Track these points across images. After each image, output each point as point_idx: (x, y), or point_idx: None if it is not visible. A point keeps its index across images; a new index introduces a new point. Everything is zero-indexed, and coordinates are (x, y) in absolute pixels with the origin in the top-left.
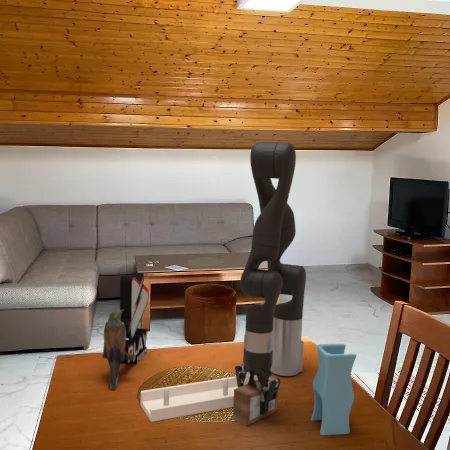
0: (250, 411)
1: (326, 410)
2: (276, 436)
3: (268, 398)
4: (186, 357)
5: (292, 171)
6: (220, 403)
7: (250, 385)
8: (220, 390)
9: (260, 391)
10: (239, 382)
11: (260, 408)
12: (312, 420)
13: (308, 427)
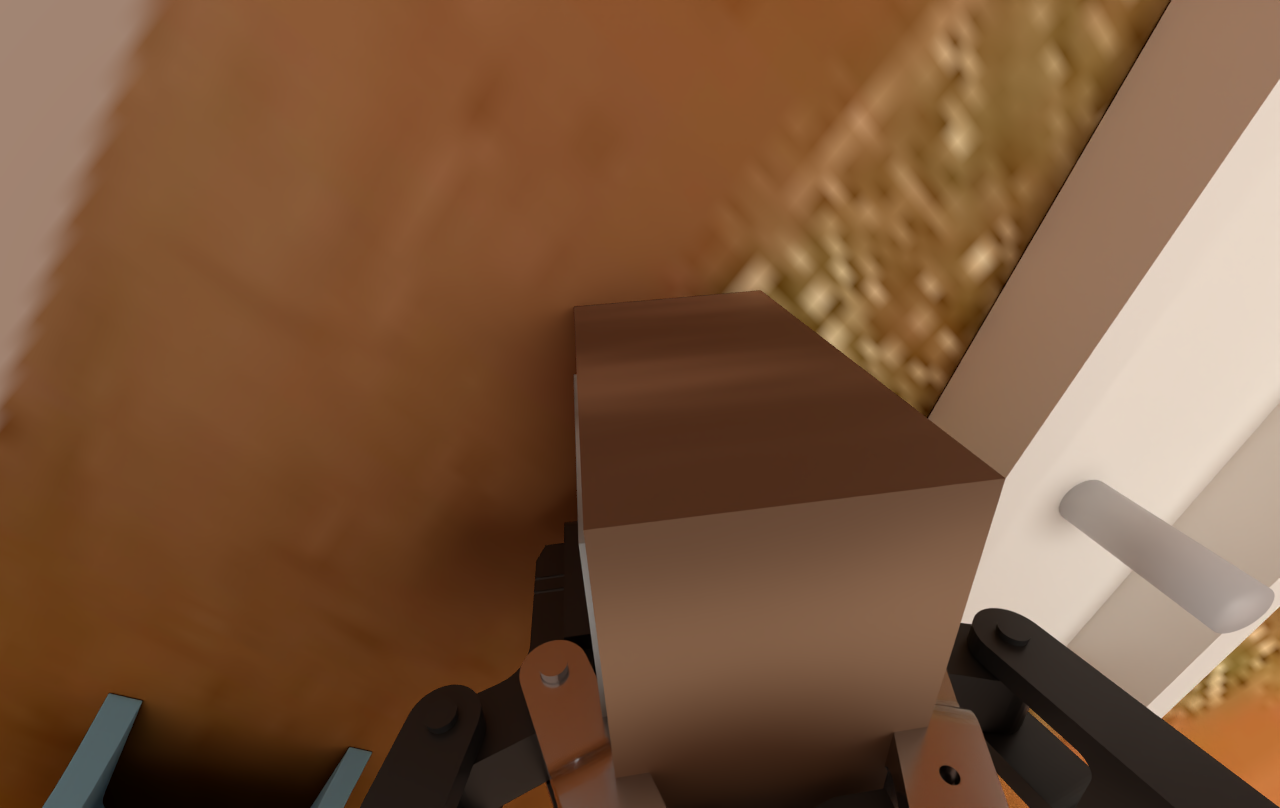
0: (575, 426)
1: None
2: (235, 414)
3: (429, 740)
4: None
5: None
6: (1029, 346)
7: (848, 765)
8: (1156, 510)
9: (572, 780)
10: (1064, 695)
11: None
12: (346, 753)
13: (270, 688)
